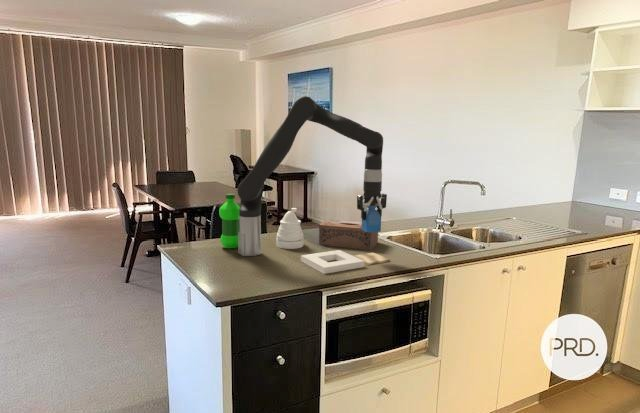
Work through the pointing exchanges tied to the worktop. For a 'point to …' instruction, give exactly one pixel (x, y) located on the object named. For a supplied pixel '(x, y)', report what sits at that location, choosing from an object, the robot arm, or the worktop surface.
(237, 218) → the plastic bottle
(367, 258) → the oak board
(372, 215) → the perfume bottle
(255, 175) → the robot arm
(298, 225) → the honey pot
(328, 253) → the socket block
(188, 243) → the worktop surface
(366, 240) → the tissue box cover
